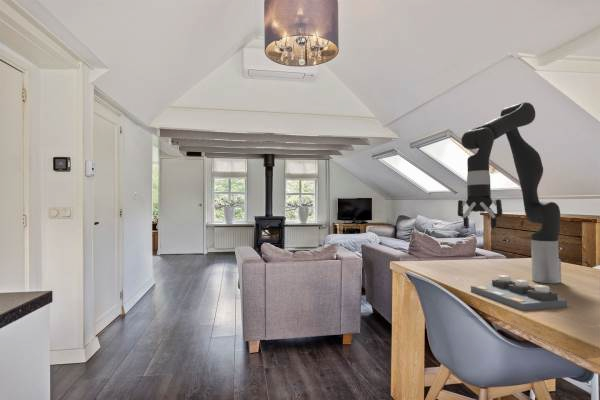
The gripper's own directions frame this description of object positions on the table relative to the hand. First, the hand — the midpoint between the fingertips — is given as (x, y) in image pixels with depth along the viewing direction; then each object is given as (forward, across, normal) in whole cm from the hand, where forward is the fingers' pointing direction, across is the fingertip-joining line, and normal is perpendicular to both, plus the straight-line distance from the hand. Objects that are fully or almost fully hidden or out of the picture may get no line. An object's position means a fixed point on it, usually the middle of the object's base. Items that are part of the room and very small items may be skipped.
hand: (479, 228), depth 124 cm
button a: (+20, -6, -9) cm, 23 cm away
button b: (+20, -12, -4) cm, 24 cm away
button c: (+20, -18, +2) cm, 27 cm away
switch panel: (+24, -10, -1) cm, 26 cm away
